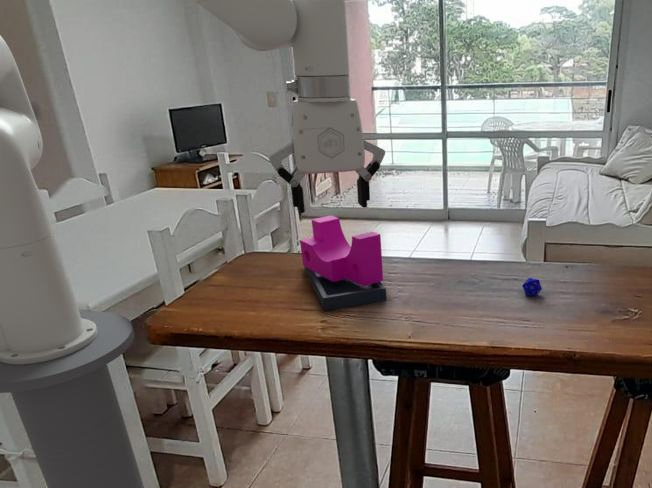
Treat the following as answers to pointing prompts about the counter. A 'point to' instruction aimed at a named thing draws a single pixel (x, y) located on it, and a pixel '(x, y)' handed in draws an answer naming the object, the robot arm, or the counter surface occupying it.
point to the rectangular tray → (344, 291)
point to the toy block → (342, 253)
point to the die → (532, 287)
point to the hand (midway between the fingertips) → (332, 208)
